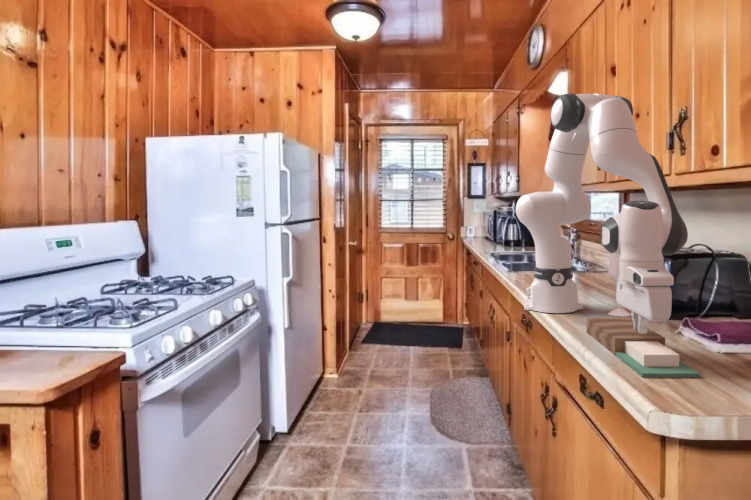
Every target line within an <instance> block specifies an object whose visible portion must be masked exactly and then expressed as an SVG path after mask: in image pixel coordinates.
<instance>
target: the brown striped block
mask: <svg viewBox="0 0 751 500" xmlns="http://www.w3.org/2000/svg"><path fill="white" fill-rule="evenodd" d="M586 333H587V334H588V335H589V336H591V337H592V338H593V339H595V341H597V342H598V343H600V345H602V346H603V347H605V349H607V350H608V351H610V353H611V354H613V355H614V356H616V352H625V341H657V342H659V343H661V344H662V345H664V346H666V337H665V336H663V335H661V334H659V333H657V332H656V331H654V330H653V329H650V328H649V327H647V333H646V334H640V333H639V332H637V331H635V330H634V323H633V320H632V317H630V316H624V317H622V316H616V317H586Z"/></svg>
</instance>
